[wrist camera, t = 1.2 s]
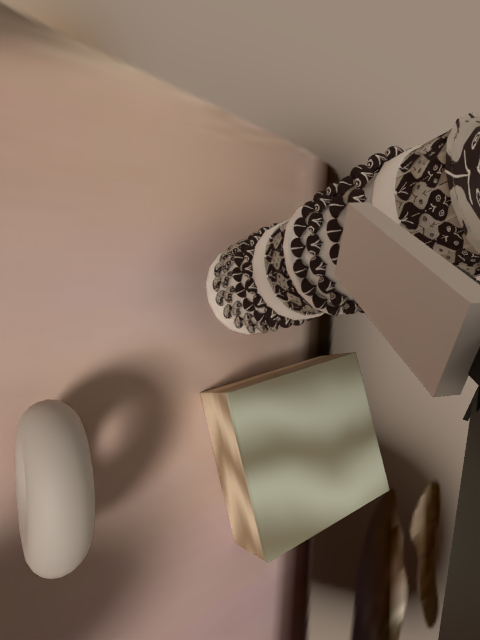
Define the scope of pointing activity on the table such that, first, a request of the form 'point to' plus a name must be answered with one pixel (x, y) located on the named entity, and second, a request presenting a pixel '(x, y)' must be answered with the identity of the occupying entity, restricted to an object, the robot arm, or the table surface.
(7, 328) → the table surface
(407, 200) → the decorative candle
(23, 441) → the donut
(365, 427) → the riser
